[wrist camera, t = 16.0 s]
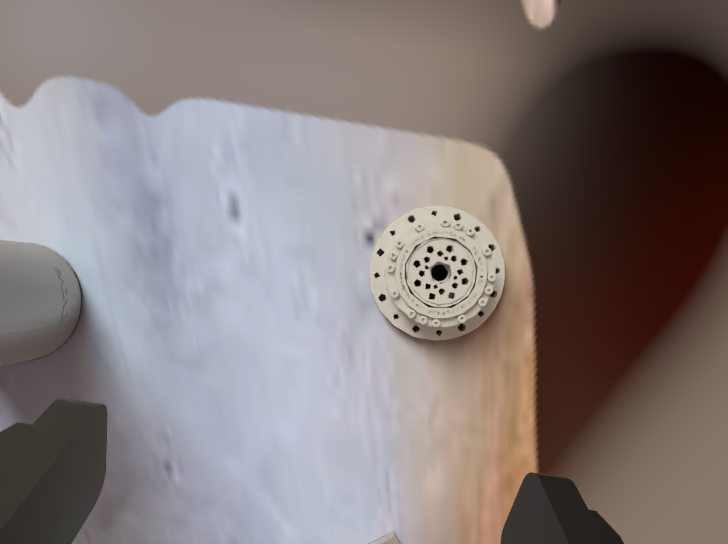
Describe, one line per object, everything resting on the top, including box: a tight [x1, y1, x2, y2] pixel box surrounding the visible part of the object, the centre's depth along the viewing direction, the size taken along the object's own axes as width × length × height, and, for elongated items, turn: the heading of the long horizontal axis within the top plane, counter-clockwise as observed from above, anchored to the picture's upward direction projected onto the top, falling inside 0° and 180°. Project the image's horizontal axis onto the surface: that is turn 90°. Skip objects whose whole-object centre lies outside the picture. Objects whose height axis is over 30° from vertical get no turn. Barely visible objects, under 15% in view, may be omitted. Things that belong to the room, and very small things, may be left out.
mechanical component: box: [369, 206, 505, 341], centre depth 36 cm, size 10×4×10 cm
